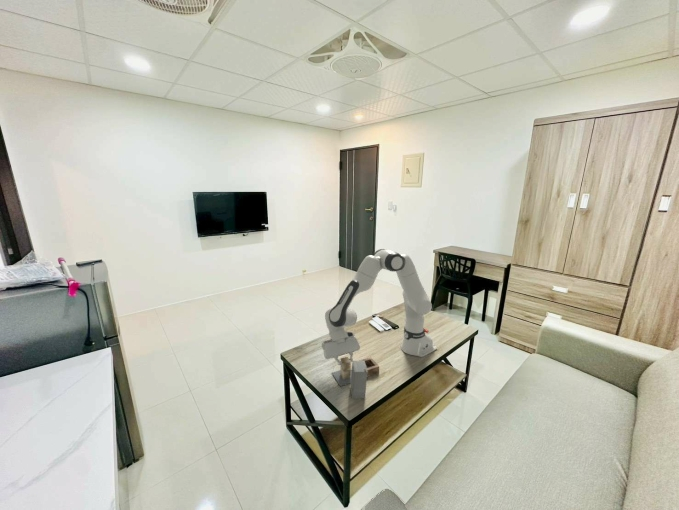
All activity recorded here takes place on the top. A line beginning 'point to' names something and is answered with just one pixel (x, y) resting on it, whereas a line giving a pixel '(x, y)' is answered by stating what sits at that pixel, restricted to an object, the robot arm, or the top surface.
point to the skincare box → (358, 379)
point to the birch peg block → (345, 368)
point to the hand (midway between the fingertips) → (346, 363)
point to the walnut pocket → (373, 364)
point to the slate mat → (340, 379)
